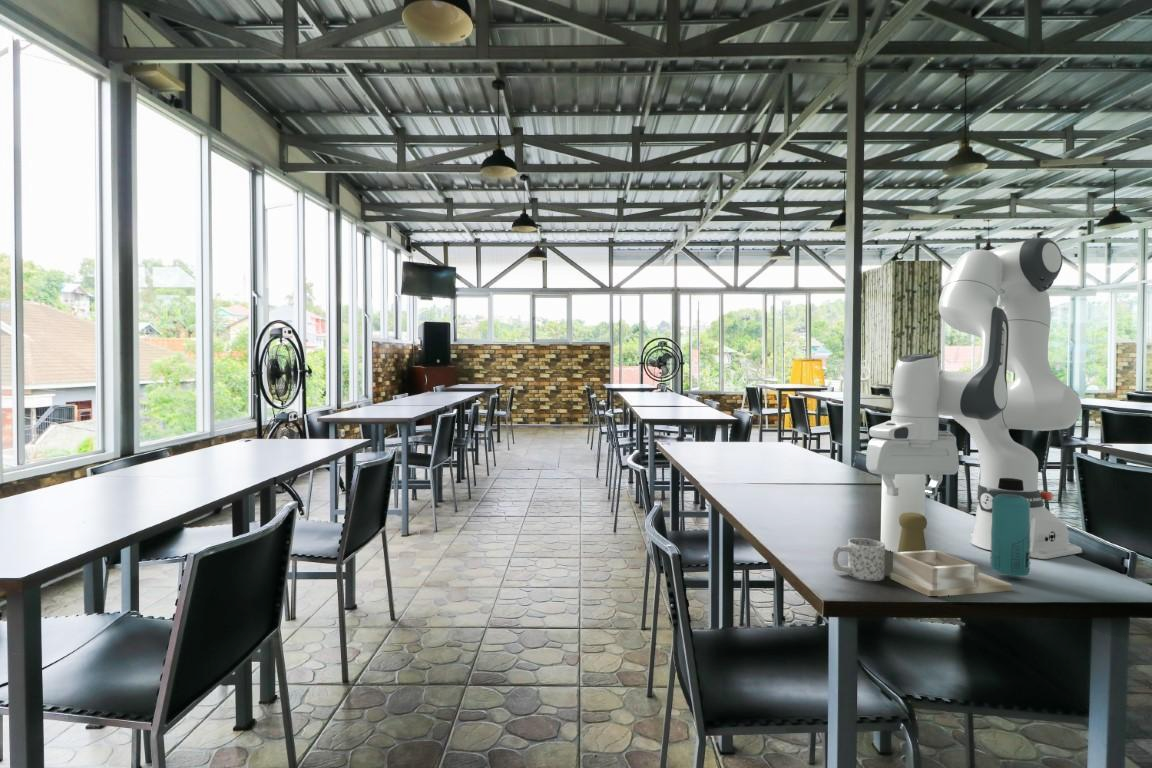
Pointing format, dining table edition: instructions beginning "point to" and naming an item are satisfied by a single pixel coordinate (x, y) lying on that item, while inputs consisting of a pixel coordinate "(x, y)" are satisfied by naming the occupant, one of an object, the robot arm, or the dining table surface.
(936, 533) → the dining table surface
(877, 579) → the mug
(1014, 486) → the beverage bottle
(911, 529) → the cork
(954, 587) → the open box
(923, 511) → the alcohol
